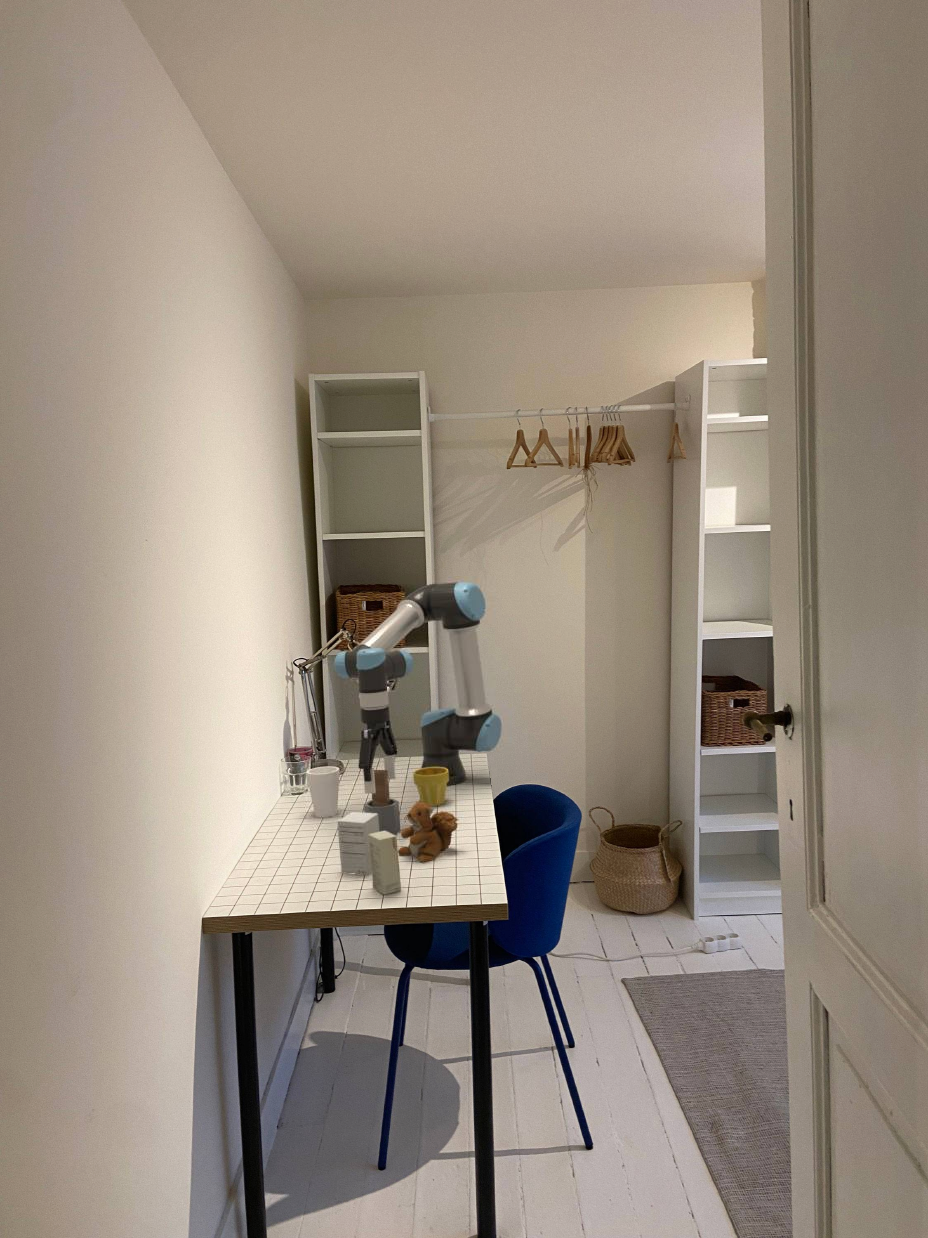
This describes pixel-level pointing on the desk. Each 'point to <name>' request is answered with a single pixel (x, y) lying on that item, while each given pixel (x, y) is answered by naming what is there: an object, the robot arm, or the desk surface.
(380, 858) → the skincare box
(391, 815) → the jar
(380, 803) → the tan wooden beam
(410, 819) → the stuffed squirrel
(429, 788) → the plant pot
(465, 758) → the desk surface
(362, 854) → the supplement box
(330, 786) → the foam cup
